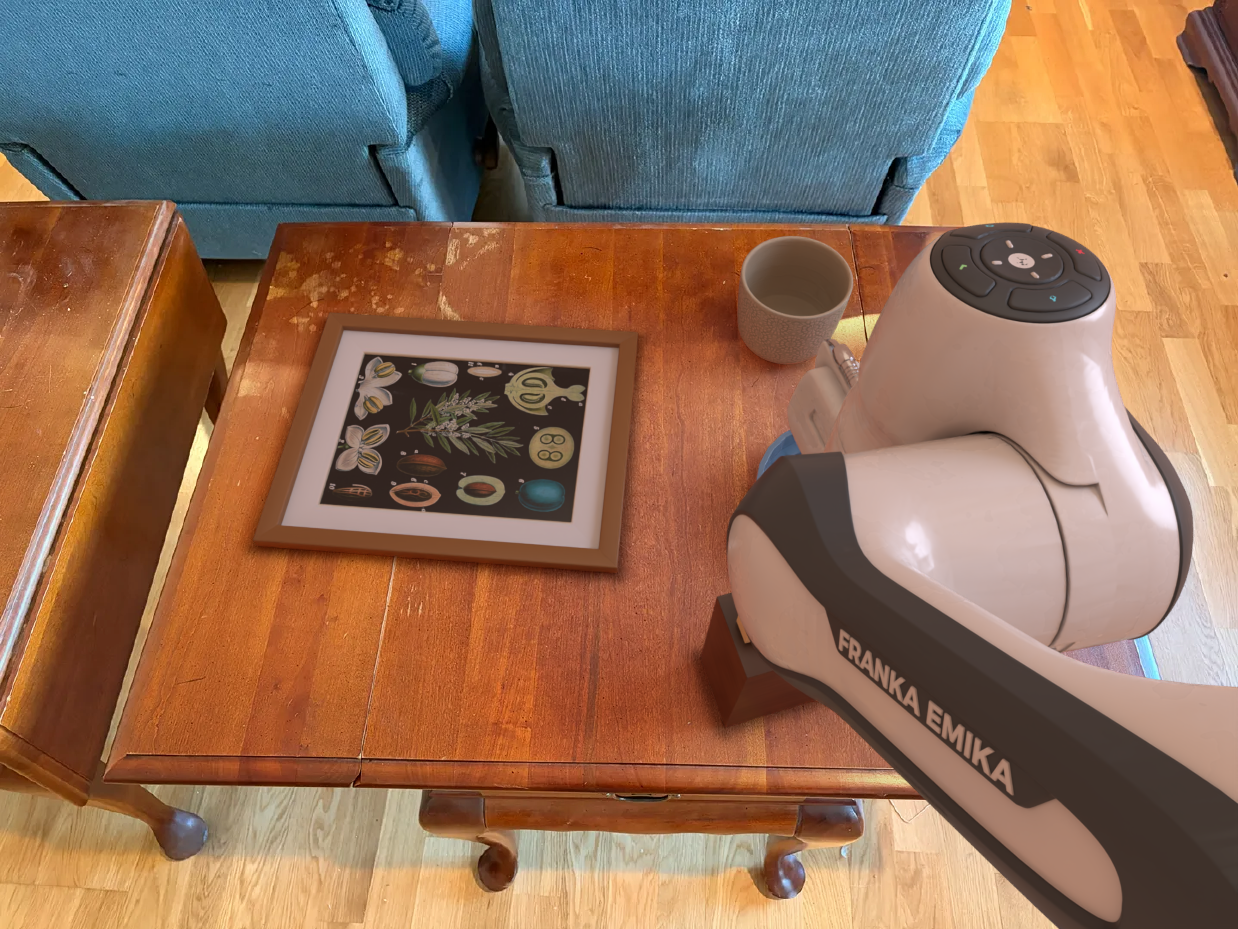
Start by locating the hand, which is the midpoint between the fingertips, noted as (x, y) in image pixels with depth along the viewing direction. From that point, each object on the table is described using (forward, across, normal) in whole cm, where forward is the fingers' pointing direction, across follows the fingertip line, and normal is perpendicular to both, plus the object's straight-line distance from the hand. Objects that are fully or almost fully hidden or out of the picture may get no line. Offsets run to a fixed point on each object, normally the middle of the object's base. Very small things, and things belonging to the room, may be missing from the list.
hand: (847, 561), depth 59 cm
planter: (+26, -38, +15) cm, 49 cm away
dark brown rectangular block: (+26, 0, 0) cm, 26 cm away
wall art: (+26, -35, -25) cm, 50 cm away
